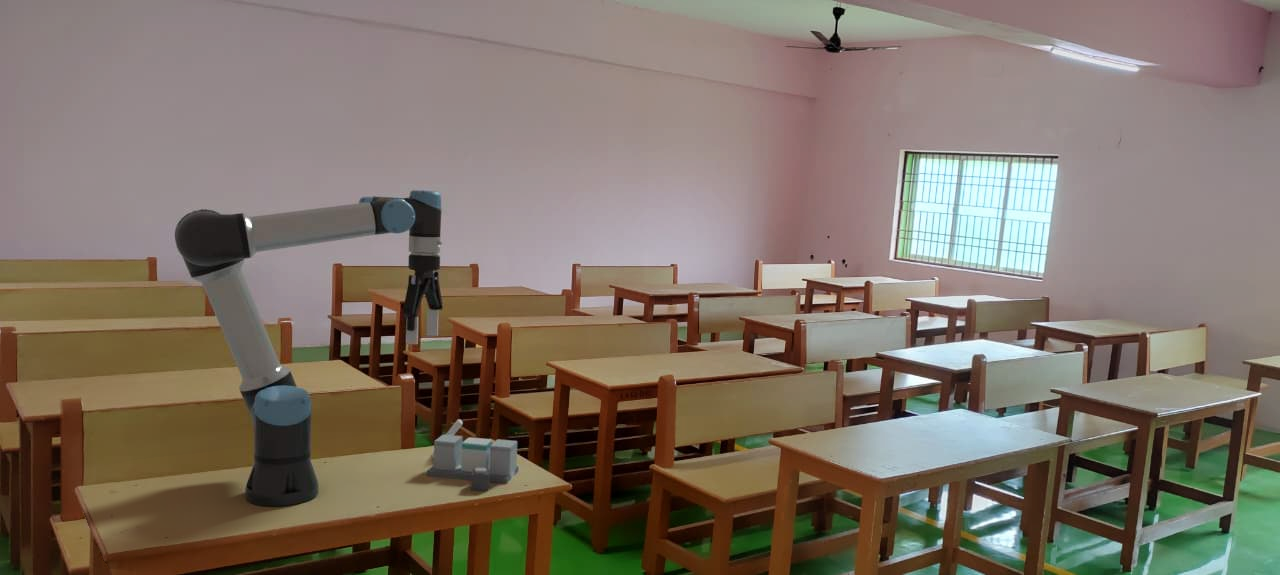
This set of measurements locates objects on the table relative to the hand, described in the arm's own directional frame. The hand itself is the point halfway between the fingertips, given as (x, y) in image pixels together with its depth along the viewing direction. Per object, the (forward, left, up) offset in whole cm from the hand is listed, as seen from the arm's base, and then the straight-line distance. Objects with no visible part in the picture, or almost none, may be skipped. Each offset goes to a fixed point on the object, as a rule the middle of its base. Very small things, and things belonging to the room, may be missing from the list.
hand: (422, 339), depth 229 cm
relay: (+20, -13, -32) cm, 40 cm away
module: (+16, -3, -30) cm, 34 cm away
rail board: (+15, -3, -32) cm, 35 cm away
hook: (+4, +9, -32) cm, 33 cm away
